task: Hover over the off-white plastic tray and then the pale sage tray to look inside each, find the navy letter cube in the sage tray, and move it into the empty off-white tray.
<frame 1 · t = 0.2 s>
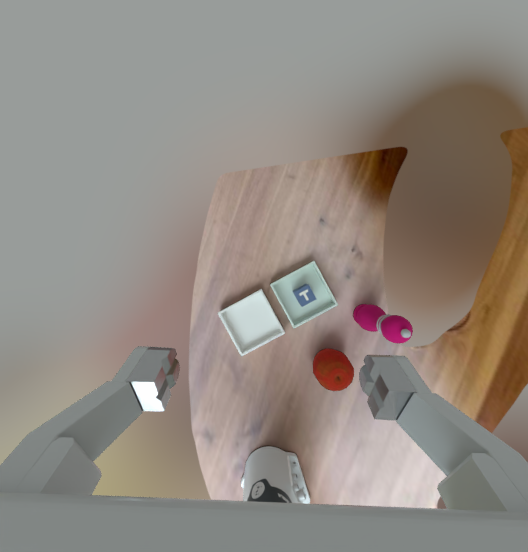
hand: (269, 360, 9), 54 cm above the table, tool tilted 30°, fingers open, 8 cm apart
letter cube: (302, 294, 62), point 1 cm above the table, touching tray sage
tray sage: (302, 293, 62), on the table
tray offwhite: (252, 320, 63), on the table
apple: (326, 360, 63), on the table
pepper mill: (363, 314, 62), on the table
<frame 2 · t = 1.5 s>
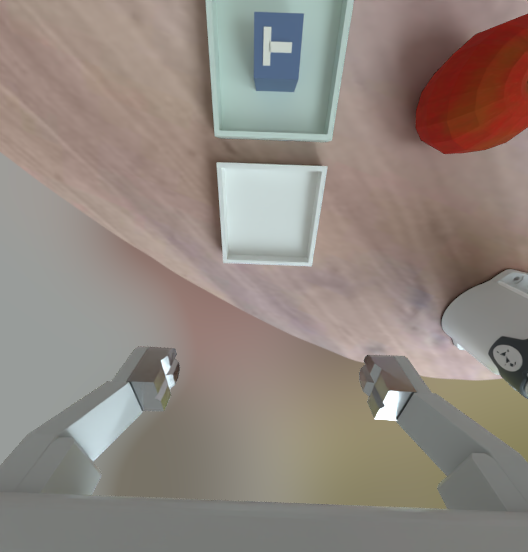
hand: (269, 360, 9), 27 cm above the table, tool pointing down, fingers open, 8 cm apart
letter cube: (276, 65, 24), point 1 cm above the table, touching tray sage
tray sage: (275, 68, 25), on the table
tray offwhite: (269, 215, 33), on the table
apple: (442, 107, 26), on the table
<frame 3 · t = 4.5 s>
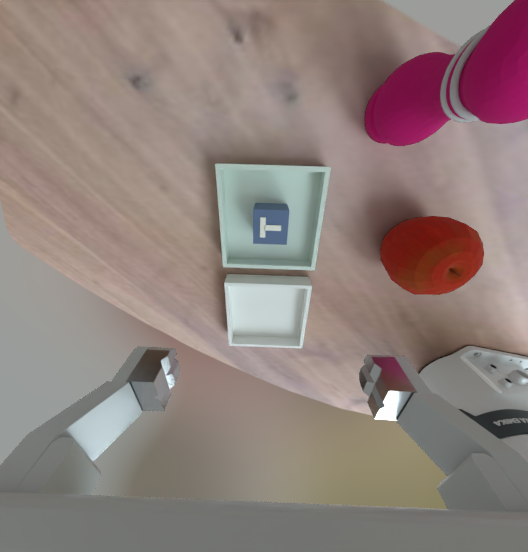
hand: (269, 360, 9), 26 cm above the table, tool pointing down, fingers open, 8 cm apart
letter cube: (270, 219, 31), point 1 cm above the table, touching tray sage
tray sage: (270, 217, 32), on the table
tray offwhite: (266, 308, 40), on the table
apple: (402, 241, 33), on the table
pepper mill: (390, 113, 26), on the table
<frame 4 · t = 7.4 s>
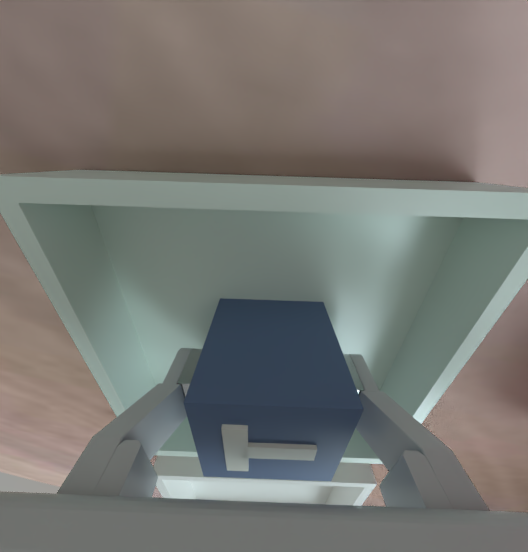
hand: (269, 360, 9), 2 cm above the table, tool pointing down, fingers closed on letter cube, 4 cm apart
letter cube: (269, 337, 10), point 1 cm above the table, touching gripper, tray sage
tray sage: (269, 326, 11), on the table
tray offwhite: (262, 467, 19), on the table
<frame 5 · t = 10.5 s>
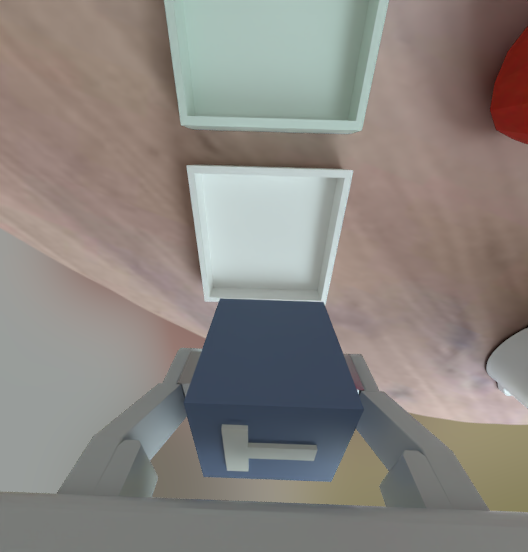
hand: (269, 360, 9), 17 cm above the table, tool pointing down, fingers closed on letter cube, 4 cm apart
letter cube: (269, 337, 10), point 16 cm above the table, touching gripper
tray sage: (274, 16, 16), on the table
tray offwhite: (267, 236, 24), on the table
when the fingers open (4 cm above the table, at t = 13.5 s): letter cube drops 1 cm, resting on tray offwhite.
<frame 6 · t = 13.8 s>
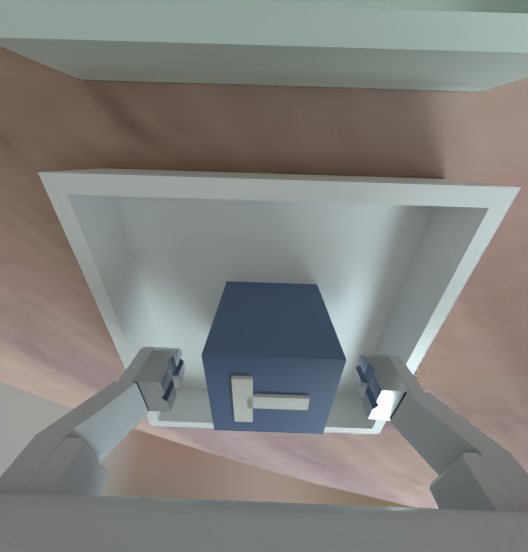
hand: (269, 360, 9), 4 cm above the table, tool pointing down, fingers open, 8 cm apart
letter cube: (270, 317, 12), point 1 cm above the table, touching tray offwhite
tray offwhite: (268, 308, 12), on the table
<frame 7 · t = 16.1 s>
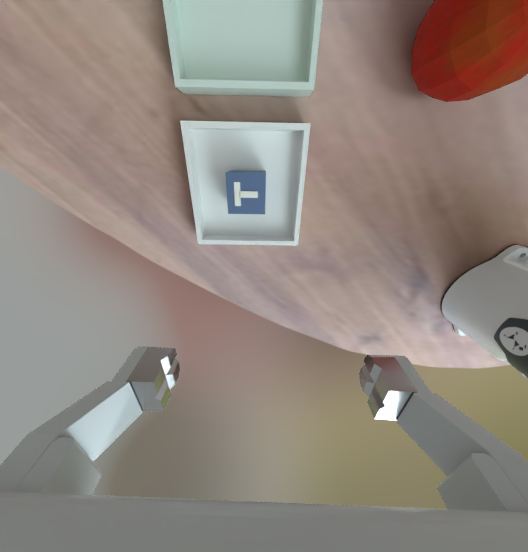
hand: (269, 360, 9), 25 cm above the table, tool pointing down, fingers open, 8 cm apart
letter cube: (248, 189, 28), point 1 cm above the table, touching tray offwhite
tray sage: (245, 1, 21), on the table
tray offwhite: (248, 188, 29), on the table
apple: (442, 50, 23), on the table
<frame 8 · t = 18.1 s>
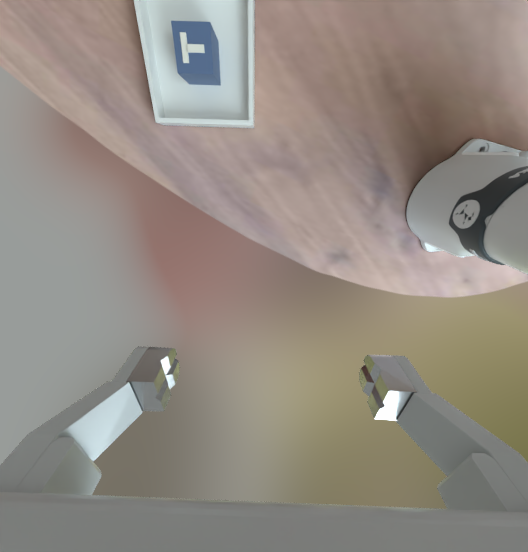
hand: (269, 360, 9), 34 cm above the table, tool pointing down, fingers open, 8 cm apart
letter cube: (203, 63, 29), point 1 cm above the table, touching tray offwhite
tray offwhite: (204, 65, 30), on the table
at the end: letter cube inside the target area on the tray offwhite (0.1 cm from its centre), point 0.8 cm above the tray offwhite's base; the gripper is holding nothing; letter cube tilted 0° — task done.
